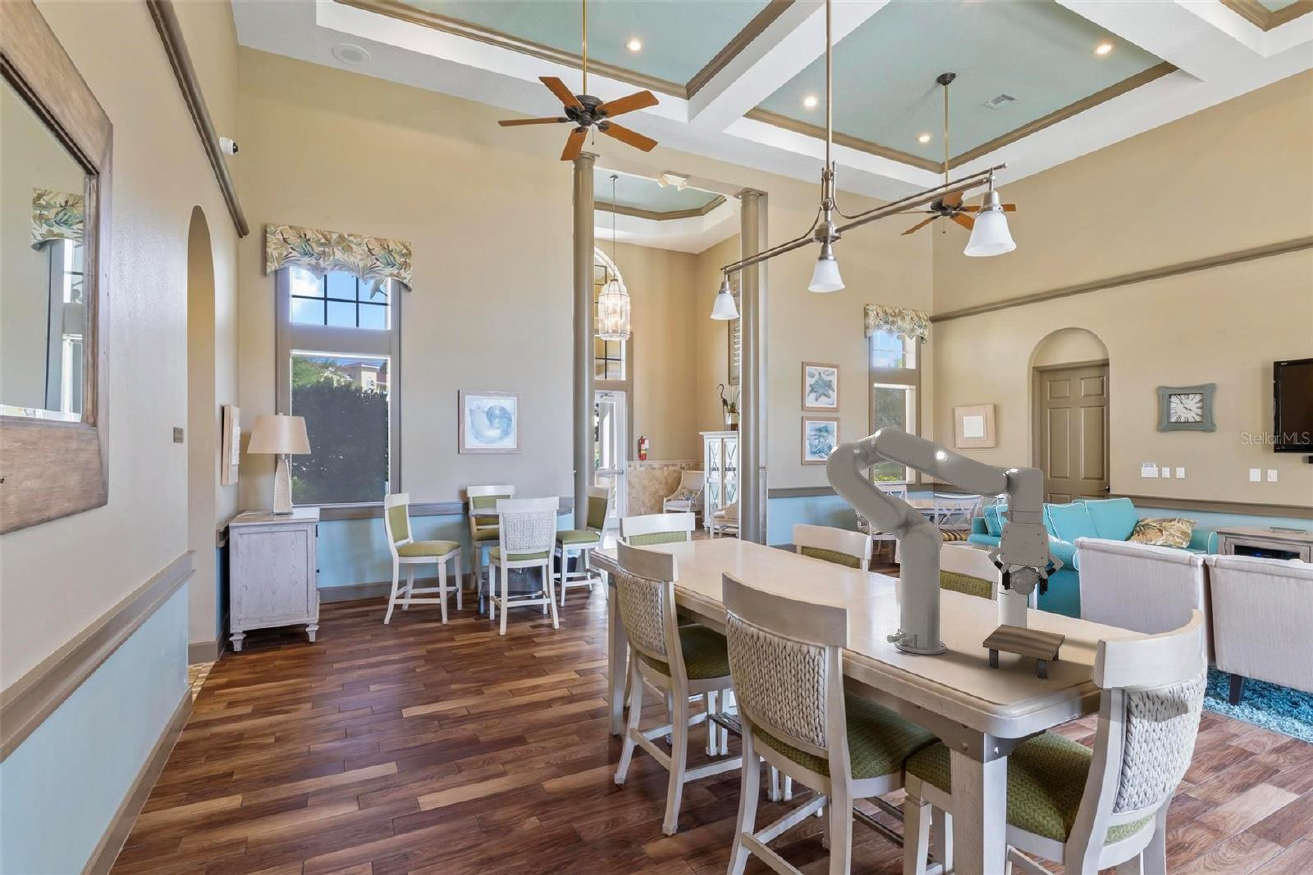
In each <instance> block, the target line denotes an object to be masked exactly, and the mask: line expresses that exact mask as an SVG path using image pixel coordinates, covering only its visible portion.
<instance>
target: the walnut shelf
mask: <svg viewBox="0 0 1313 875" xmlns="http://www.w3.org/2000/svg"><path fill="white" fill-rule="evenodd" d="M1065 640H1066V635H1065V634H1061V633H1055V632H1049V631H1045V630H1038V629H1032V628H1028V627H1027V628H1022V627H1016V626H1010V625H1004V624H1001V625H1000V626H999V627H997V628H996V629H995V630H994V631H993V632H992V633H990V635H988V636H987V637H986V638H985V639H984V640H983V641H982V648H984V649H985V648H986V649H989V650H988V667H989V668H990V669H995V670H997V669H999V668H1000V665H999V663H1000V662H999V660H1000V658H999V657H1000V656H999V652H1005V653H1011V654H1014V655H1015V654H1016V655H1018V656H1019V655H1021V656H1025V657H1031V658H1036V661H1037V664H1036V665H1037V669H1036V670H1037V671H1036V672H1037V674H1036V677H1037V678H1038V679H1040V678H1041V679H1042V680H1048V679H1047V678H1049V677H1048V674H1049V673H1048V670H1049V669H1048V666H1049V665H1048V664H1049V662H1048V661H1050V662H1051V661H1054V662H1058V661H1059V660H1060V648H1061V647H1062V645H1063V643H1064V642H1065Z"/></svg>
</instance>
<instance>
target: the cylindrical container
mask: <svg viewBox="0 0 1313 875" xmlns="http://www.w3.org/2000/svg"><path fill="white" fill-rule="evenodd" d="M1000 543H1001V540H1000V541H998V548H999V547H1000ZM998 560H999V561H1000V562H1001V563H1002V564H1003V565H1004V563H1003V562H1002V561H1001V560H1000V554H999V555H998ZM1022 567H1025V566H1020V565H1011V566H1010V568H1009V572H1010V573H1012V572H1014V571H1017V570H1019V569H1021V568H1022ZM997 596H998V608H997V610H998V611H997V613H998V614H997V615H998V619H997V620H998V621H997V623H998V624H997V626H998V627H999V626H1000V625H1001V624H1004V625H1010V626H1016V627H1022V628H1027V629H1028V595H1021V594H1018V593H1017V592H1015V591H1014V589H1013V587H1012V585H1011V584H1010V589H1008V590H1004V586H1003V585H1002V573H1001V572H1000V570H999V569H998V595H997ZM998 627H997V628H998Z"/></svg>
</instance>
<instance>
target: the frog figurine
mask: <svg viewBox="0 0 1313 875" xmlns="http://www.w3.org/2000/svg"><path fill="white" fill-rule="evenodd" d="M1009 576H1010V578H1009V579H1010V584H1011V585H1012V587H1013V589H1014V591H1015V592H1017V593H1018V594H1021V595H1027V596H1028V595H1031V594H1032V593H1034V592H1035V589H1036V585H1037V584H1039V579H1040V578H1041V574H1040V572H1039V571H1037V568H1036V567H1029V566H1025V567H1022V568H1021V569H1019V570H1017V571H1014V572H1012V573H1010V575H1009Z"/></svg>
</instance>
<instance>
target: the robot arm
mask: <svg viewBox="0 0 1313 875" xmlns="http://www.w3.org/2000/svg"><path fill="white" fill-rule="evenodd" d="M889 461H890V462H893V463H896V464H897V465H901V466H902V467H903V466H904V467H907V468H909V469H911V470H914V471H917V472H919V473H922V474H923V475H924V474H925V475H926V476H929V477H931V478H933V479H937V480H941V481H943V482H945V483H947V484H950V485H952V486H956V487H957V488H960V489H962V490H965V491H968V492H971V493H974V494H976V495H978V496H980V497H981V496H982V497H984V498H995V497H998V496H1000V495H1003V494H1004V495H1007V510H1005V511H1001V512H1000V517H1001V518H1005V519H1006V521H1005V522H1003V524H1002V529H1001V534H1000V535H1001V536H1000V541H1001V543H1000V547H999V546H998V547H997V548H996V549H995V550H993V551H991V552H990V553H989V554H988V556H987V557H988V559H990V561H991V562H992V563H993V565H994V566H995V568H996V569H998V571H999V570H1000V572H1001V573H1002V585H1003V586H1004V590H1008V589H1010V579H1009V578H1010V576H1009V575H1010V572H1009V568H1010V566H1011V565H1020V566H1028V567H1031V568H1036V569H1037V571H1038V572H1039V573H1040V574H1041V576H1040V579H1039V582H1038V585H1039V587H1038V589H1039V593H1038V594H1039V595H1040V596H1044V595H1045V594H1046V592H1048V591H1049V577H1051V576H1052V575H1053V574H1055V573H1057V571H1058V570H1059V569H1061V568H1062V567H1063V566H1064V564H1065V563H1064V562H1063V561H1062V560H1061V559H1060V558H1058V556H1056V555H1055V554H1054V553H1053V552H1052V551H1050V540H1049V532H1048V527H1047V525H1046V524H1044V472H1043V470H1042V469H1041V468H1039V467H1031V466H1030V467H1028V466H1015V467H1014V466H1013V467H1004V466H999V465H990V464H987V463H983V462H980V461H978V460H975V459H972V458H970V457H967V456H964V455H962V454H959V453H957V452H955V451H952V450H951V449H949V448H947V446H944V445H942V444H940V443H937V442H935V441H931V440H929V439H926V438H923V437H920V436H918V435H915V434H912V433H910V432H906V431H903V430H902V429H900V428H897V427H892V426H885V427H881V428H879V429H878V430H876V431H875V432H874V434H872V435H870V436H869V435H868V436H866V437H864V438H860V439H857V440H855V441H852V442H842V443H839V444H836V445H835V446H834V447H833V448H832V449H831V450H829V453H828V456H827V459H826V461H825V472H826V473H825V474H826V477H827V481H828V483H829V484H830V486H831V488H832V489H833V490H834V492H835V493H837V495H838V496H839V497H840V498H841V499H842V500H844V501H845V502H846V503H847V504H848V505H849V506H850V507H852V509H854V510H855V511H856V512H857V513H858V514H860V516H862V518H864V520H866V521H867V522H869V524H871V525H872V526H873V528H875V529H876V530H877V531H879V532H881V533H884V534H891V535H892V536H894V537H895V538H896V539H898V541H899V547H898V548H899V562H900V568H899V570H900V619H899V620H900V628H897V632H896V633H895V634H887V636H886V641H887V642H888V643H890V644H891V643H893V645H894V646H895V647H897V648H898V649H900V650H902V651H905V652H908V653H913V654H920V655H940V654H943V653H946V652H947V645H946V643H944V642H943V641H941V564H940V563H941V556H940V555H941V550H942V548H943V545H944V537H943V534H942V532H941V530H940V529H939V528H938V527H937V525H935V524H934V523H933V522H931V520H929V519H928V518H927V517H926V516H924V515H923V514H922V513H921V512H919V511H918V510H917V509H916V508H914V507H913V506H912V505H910V504H909V503H908V502H907V501H906V500H905V499H902V498H901V497H899V496H896V495H887V494H886V493H885V492H883V490H881V489H880V488H879V487H877V485H875V484H874V483H873V482H872V481H870V480H869V479H867V478H866V477H865V476H863V474H862V471H863V470H866V469H869V468H872V467H875V466H878V465H881V464H884V463H886V462H889ZM999 554H1000V560H1001V561H1002V562H1003V563H1004V565H1003V564H1002V563H1001V562H1000V561H999V558H997V557H998V556H999ZM1050 561H1051V562H1052V563H1053V564H1054V565H1053V566H1052V567H1050V568H1049V569H1048V568H1047V566H1048V564H1050Z"/></svg>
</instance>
